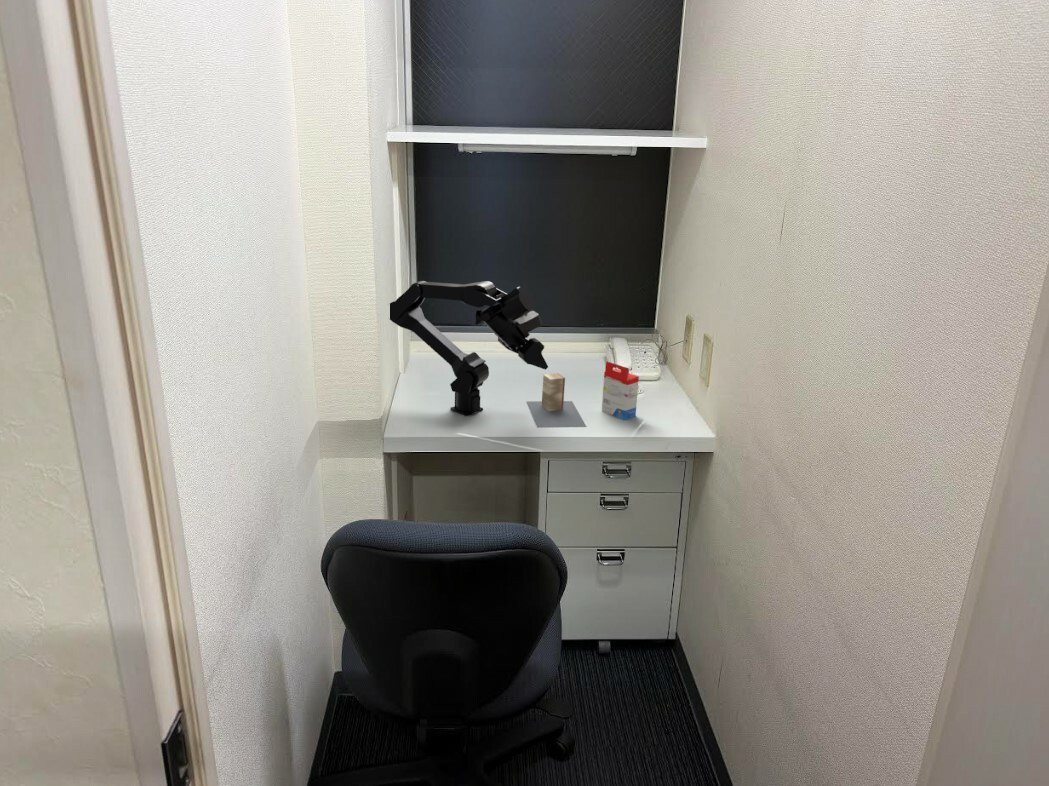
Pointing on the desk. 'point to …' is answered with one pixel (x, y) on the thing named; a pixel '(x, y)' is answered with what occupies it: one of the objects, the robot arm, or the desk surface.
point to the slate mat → (555, 415)
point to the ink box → (619, 391)
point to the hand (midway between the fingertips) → (539, 363)
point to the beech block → (553, 391)
